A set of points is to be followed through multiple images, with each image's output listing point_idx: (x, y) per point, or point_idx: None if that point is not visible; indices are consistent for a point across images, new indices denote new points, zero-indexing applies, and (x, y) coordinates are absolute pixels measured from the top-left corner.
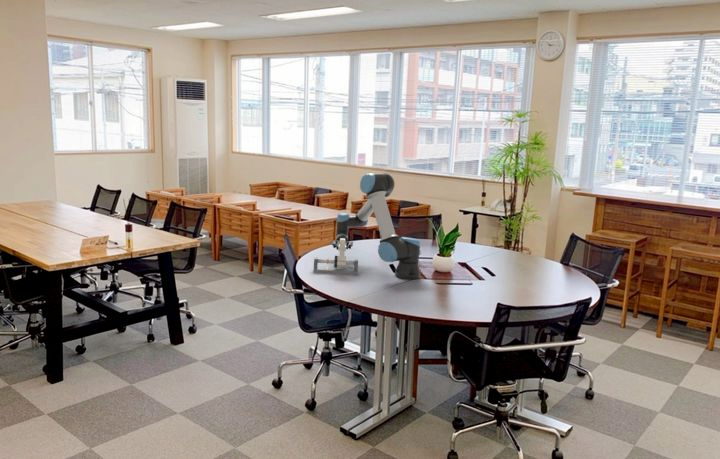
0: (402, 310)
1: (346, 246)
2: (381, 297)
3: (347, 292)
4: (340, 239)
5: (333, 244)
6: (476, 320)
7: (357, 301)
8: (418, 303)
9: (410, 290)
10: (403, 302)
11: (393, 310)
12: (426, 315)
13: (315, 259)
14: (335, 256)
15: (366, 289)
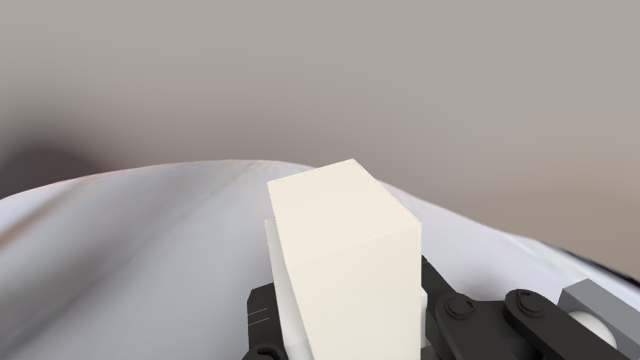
0: (154, 171)
1: (274, 310)
2: (174, 198)
3: (264, 187)
4: (351, 162)
5: (570, 334)
6: (29, 190)
7: (238, 165)
8: (91, 206)
9: (26, 285)
10: (128, 197)
11: (172, 165)
12: (117, 173)
13: (577, 285)
14: (425, 348)
15: (204, 224)
